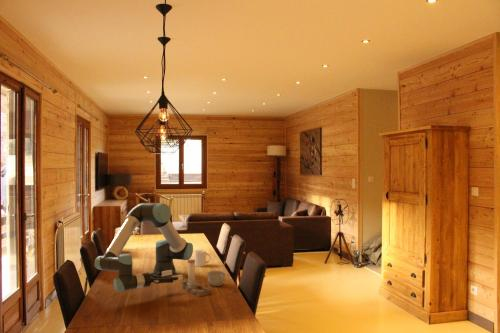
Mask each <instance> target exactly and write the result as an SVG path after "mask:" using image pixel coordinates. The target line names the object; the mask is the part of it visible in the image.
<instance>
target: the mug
mask: <svg viewBox="0 0 500 333" xmlns="http://www.w3.org/2000/svg"><path fill="white" fill-rule="evenodd" d="M193 252H194V253H193V254H194V257H193V258H194V259H193V260H195V267H199V268H200V267H205V266H206V265H207V264H209V263H210V261H211V259H212V257H211V254H209V253H208V252H207V250H204V249H197V250H193ZM207 256H208V257H209V260H207Z"/></svg>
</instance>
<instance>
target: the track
mask: <svg viewBox="0 0 500 333" xmlns="http://www.w3.org/2000/svg"><path fill="white" fill-rule="evenodd" d="M186 283H188V280H185V281H181V288H182V290H184V291H186V292H189V293H191V294H193V295H195V296H197V297H202V296H207V295H211V294H212V290H211V289H210V288H207V287H206V286H203V285H201V284H198V287H196V288H191V287H189V286H187V285H186Z"/></svg>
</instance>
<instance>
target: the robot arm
mask: <svg viewBox="0 0 500 333" xmlns="http://www.w3.org/2000/svg"><path fill="white" fill-rule="evenodd" d="M171 216H172V213H171V208H170V206H169V205H168V204H167V203H163V202H142V203H138V204H136V205H135V206H134V207H132V209H130V210H129V211H128V212H127V214H126V216H125V217H124V222H123V224H122V225H121V227H120V229H119V230H118V231H117V233H116V235H115V236H114V238H113V240H112V241H111V243H110V244H109V246H108V247H107V249H105V251H104V253H103V255H99V256H97V257H96V258H95V259H94V267H95V268H96V269H97V270H101V271H111V272H117V277H115V278H114V279H113V281H112V284H113V289H114V291H115V292H125V291H130V290H131V291H132V290H134V289H136V290H139V289H140V288H141V289H142V288H148V287H150V286H151V285H152V283H153V284H166V283H168V284H169V283H170V284H172V283H174V282H175V281H181V280H182V281H183V274H177V275H175V274H176V273H177V272H176V267H175V264H174V260H180V261H188V260H191V258H192V255H193V254H194V253H193V252H194V245H193V243H192V242H187V240H186V239H185V238H184V237H181V235H180V234H179V232H178V230H177V228H175V226H174V224H173V222H171ZM143 222H145V223H151V225H152V226H153V227H154V228H157V229H158V230H159V231H160V233H161V234H162V236H163V237H164V239H161V240H158V241H156V243H155V264H154V266H153V270H152V271H153V272H151V273H149V272H143V273H137V274H133V256H132V254H131V253H122V251H123V249H124V248H125V247H126V245H127V243H128V241H129V239H130V238H131V236H132V235H133V233H134V231H135V230H136V228H138V227H139V226H140V225H141V223H143Z"/></svg>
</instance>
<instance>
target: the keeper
mask: <svg viewBox="0 0 500 333" xmlns="http://www.w3.org/2000/svg"><path fill="white" fill-rule="evenodd" d="M187 270H188V271H187V273H188V275H187V276H188V277H187V281H188V283H186V285H187V286H189V287H191V288H196V287H198V285H199V283H197V282H196V266H195V260H194V259H189V260H187Z"/></svg>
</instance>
